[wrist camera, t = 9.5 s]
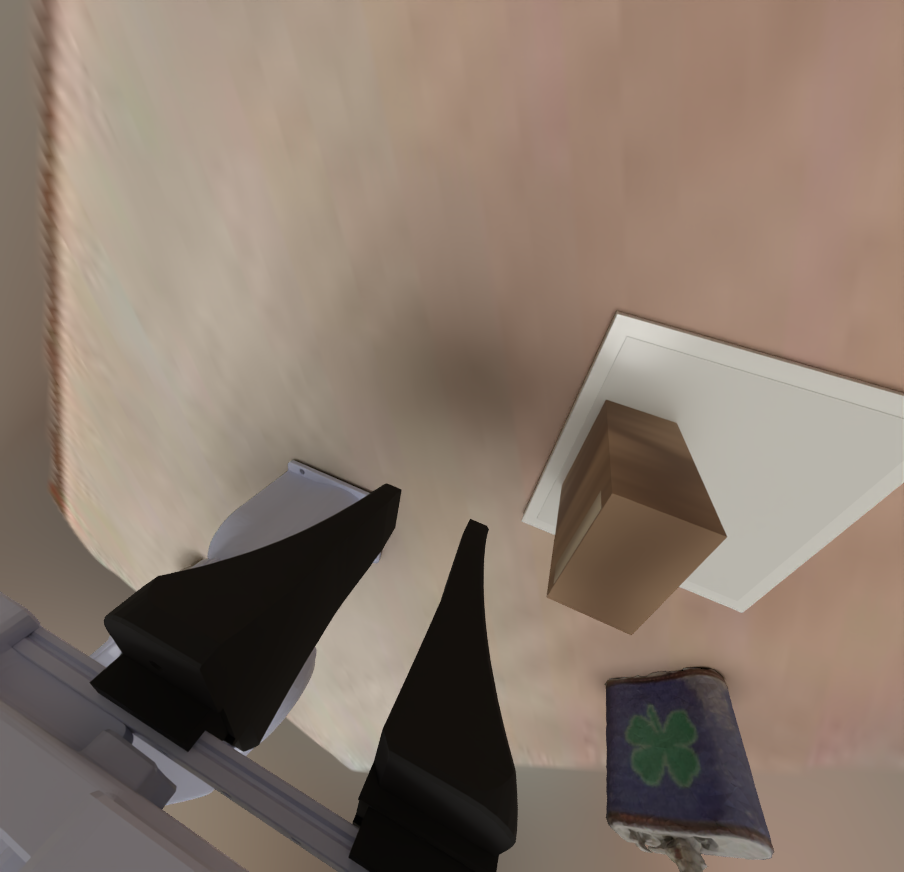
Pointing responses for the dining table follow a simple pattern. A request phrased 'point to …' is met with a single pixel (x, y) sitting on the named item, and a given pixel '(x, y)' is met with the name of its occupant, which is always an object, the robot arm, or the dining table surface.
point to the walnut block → (630, 520)
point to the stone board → (744, 446)
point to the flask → (681, 769)
